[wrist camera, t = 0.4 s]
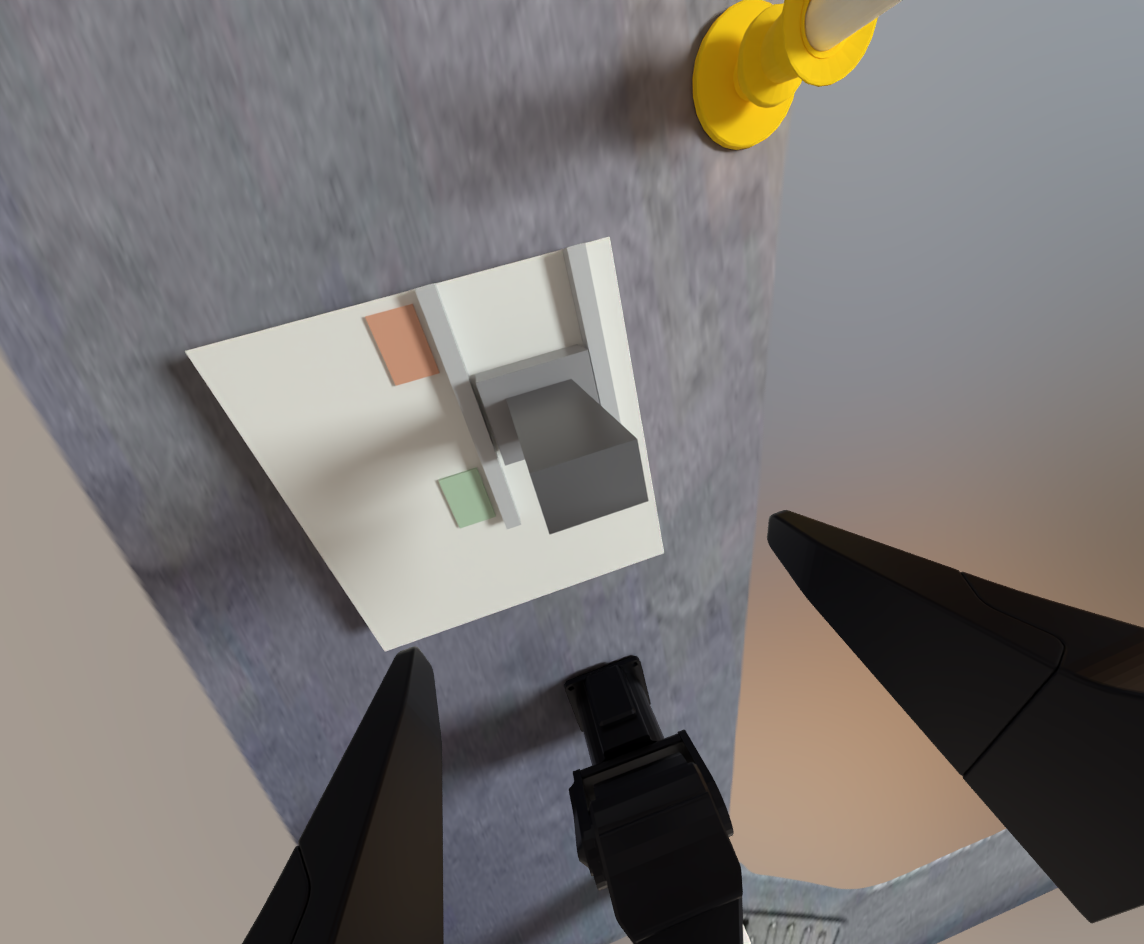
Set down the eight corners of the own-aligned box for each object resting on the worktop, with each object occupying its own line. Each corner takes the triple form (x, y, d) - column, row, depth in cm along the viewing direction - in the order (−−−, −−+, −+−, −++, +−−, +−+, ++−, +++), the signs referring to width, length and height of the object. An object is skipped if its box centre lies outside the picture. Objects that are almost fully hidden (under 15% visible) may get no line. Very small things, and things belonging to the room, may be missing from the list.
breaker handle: (594, 421, 21) (684, 518, 12) (502, 450, 21) (525, 573, 12) (577, 344, 19) (667, 391, 10) (475, 373, 19) (479, 451, 10)
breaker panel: (646, 528, 29) (670, 562, 25) (393, 615, 27) (381, 665, 23) (591, 243, 21) (616, 234, 17) (225, 342, 19) (168, 354, 15)
